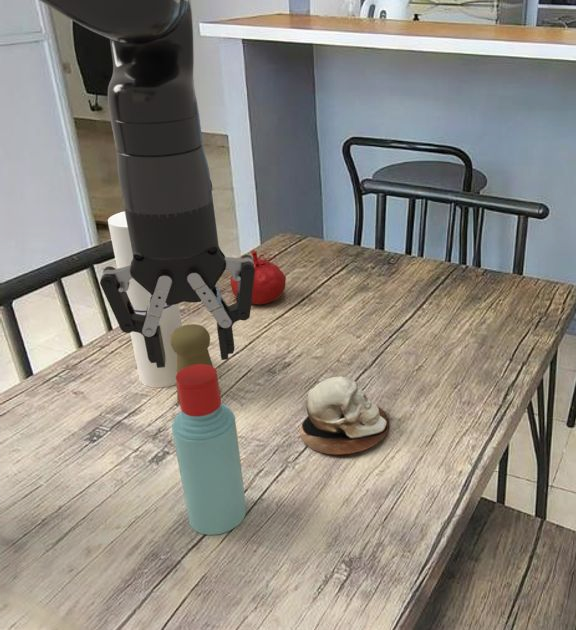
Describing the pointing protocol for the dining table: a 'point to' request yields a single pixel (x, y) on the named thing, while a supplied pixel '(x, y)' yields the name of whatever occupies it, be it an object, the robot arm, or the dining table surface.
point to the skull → (342, 418)
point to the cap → (198, 390)
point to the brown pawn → (191, 346)
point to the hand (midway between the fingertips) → (193, 359)
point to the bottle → (210, 470)
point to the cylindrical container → (140, 301)
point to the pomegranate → (264, 281)
